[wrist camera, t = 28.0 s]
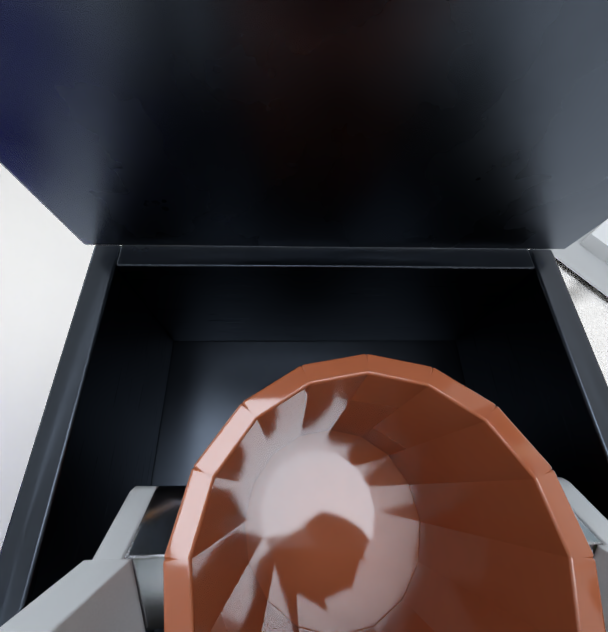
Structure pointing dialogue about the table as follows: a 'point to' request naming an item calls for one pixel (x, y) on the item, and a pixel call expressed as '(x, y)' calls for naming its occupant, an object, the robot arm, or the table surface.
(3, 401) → the table surface
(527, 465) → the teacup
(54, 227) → the table surface
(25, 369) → the table surface
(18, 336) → the table surface
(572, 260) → the architectural model
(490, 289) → the dark grey open box
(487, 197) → the lid
